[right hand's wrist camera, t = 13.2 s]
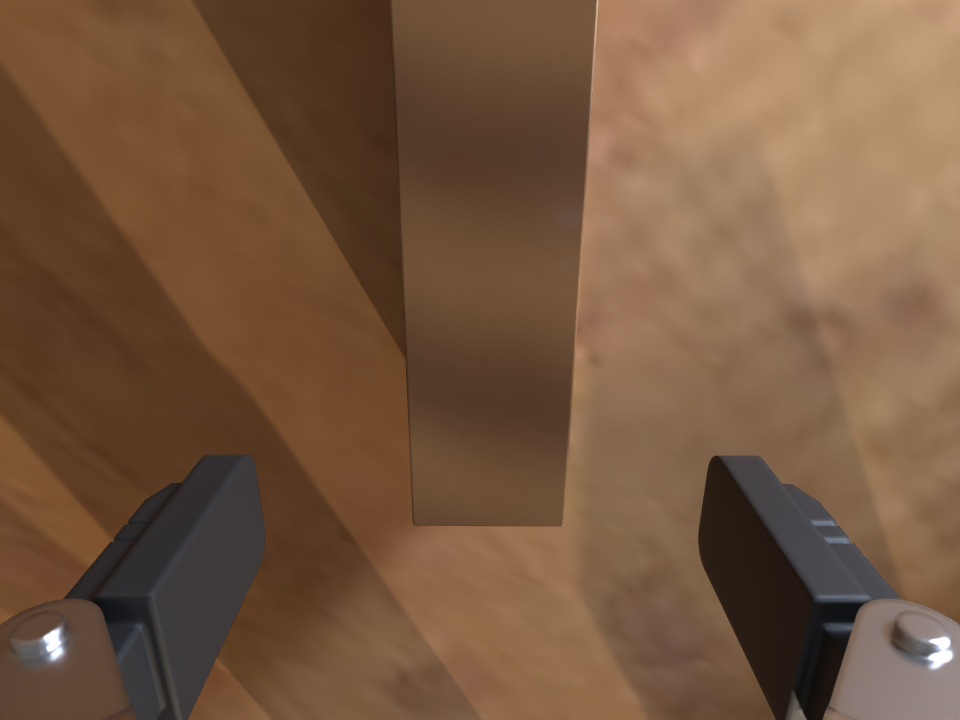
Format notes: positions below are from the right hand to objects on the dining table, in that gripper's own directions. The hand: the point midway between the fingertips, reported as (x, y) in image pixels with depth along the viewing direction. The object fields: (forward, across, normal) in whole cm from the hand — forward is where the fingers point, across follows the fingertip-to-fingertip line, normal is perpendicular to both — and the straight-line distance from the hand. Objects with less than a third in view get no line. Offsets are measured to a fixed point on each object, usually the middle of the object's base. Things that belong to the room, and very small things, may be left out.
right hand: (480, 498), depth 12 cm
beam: (+13, 0, -31) cm, 34 cm away
